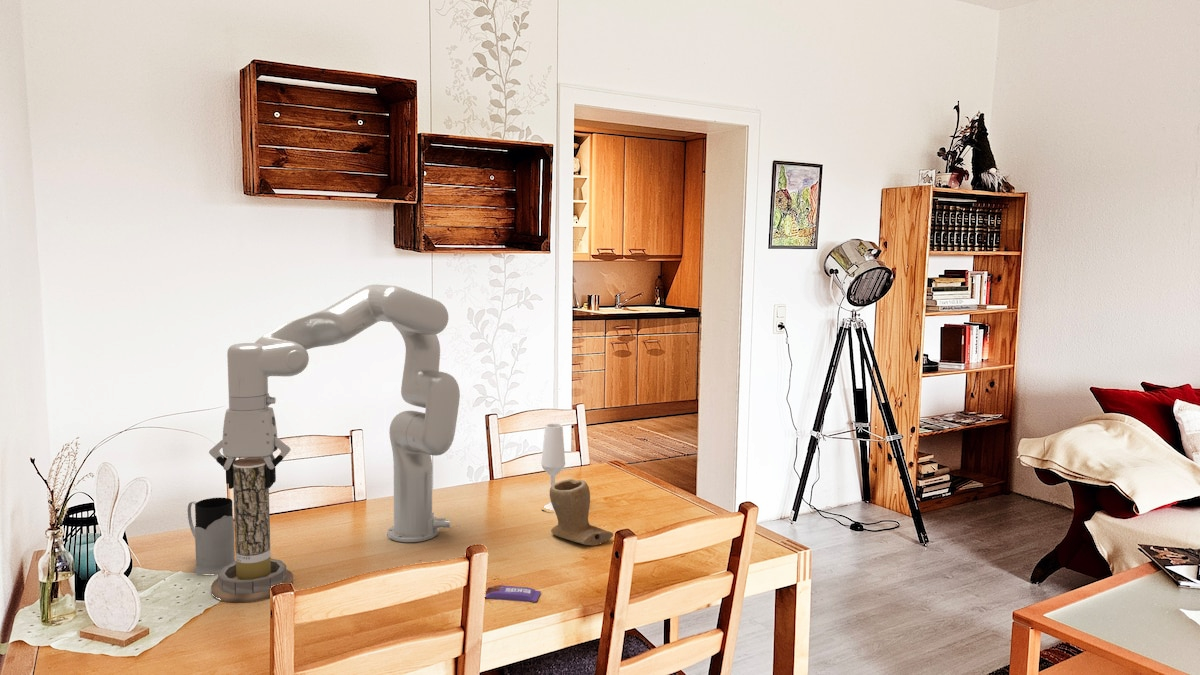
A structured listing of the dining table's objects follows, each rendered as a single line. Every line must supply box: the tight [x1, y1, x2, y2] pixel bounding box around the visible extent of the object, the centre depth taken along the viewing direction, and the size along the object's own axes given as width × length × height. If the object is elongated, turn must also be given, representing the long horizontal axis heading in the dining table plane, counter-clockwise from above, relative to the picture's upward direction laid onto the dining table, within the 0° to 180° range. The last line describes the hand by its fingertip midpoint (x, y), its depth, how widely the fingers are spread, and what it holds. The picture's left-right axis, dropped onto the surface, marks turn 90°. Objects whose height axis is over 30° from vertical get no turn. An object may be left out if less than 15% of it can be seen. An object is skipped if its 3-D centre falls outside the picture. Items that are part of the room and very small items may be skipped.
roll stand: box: [210, 557, 294, 604], centre depth 171 cm, size 16×16×4 cm
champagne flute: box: [540, 423, 566, 510], centre depth 225 cm, size 7×7×24 cm
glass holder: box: [187, 497, 236, 575], centre depth 181 cm, size 9×14×15 cm, turn 58°
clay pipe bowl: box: [549, 478, 614, 546], centre depth 203 cm, size 15×12×15 cm
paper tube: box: [232, 457, 272, 580], centre depth 170 cm, size 7×7×25 cm
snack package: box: [485, 584, 542, 603], centre depth 170 cm, size 12×2×5 cm
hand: (251, 485), depth 169 cm, fingers closed on paper tube, 6 cm apart
